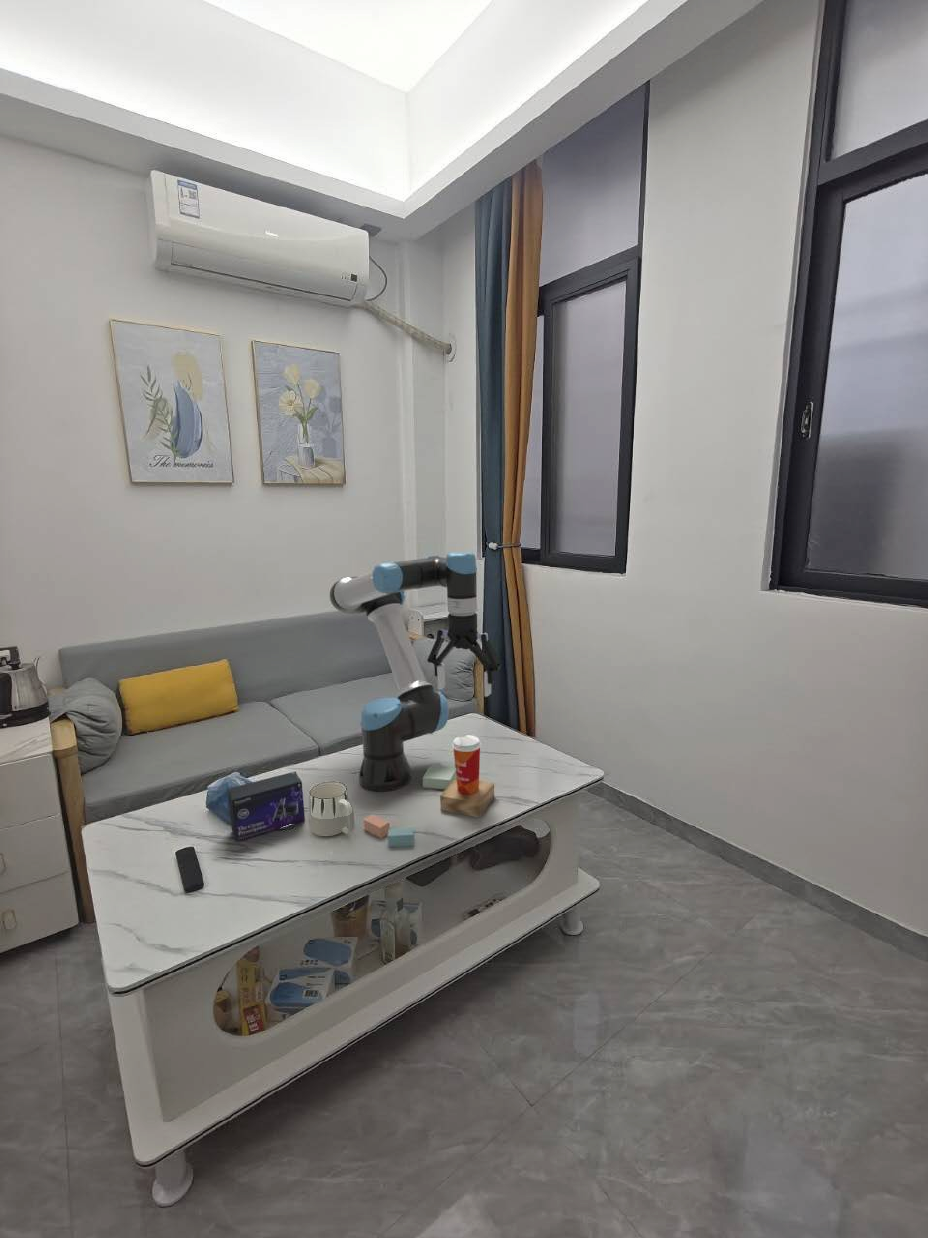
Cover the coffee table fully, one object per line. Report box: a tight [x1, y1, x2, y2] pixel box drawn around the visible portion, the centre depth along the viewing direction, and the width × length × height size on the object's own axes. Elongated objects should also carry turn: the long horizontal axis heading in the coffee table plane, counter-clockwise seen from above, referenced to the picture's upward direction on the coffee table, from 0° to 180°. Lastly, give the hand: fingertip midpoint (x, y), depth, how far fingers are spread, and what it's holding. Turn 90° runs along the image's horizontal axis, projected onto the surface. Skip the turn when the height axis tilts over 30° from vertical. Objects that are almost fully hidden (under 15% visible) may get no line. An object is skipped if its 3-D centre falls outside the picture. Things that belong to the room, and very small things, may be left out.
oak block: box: [439, 778, 495, 818], centre depth 154 cm, size 11×11×4 cm
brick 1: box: [363, 814, 391, 839], centre depth 143 cm, size 6×3×3 cm, turn 50°
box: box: [226, 771, 306, 843], centre depth 145 cm, size 17×7×12 cm, turn 121°
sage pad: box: [422, 764, 456, 790], centre depth 166 cm, size 8×8×3 cm
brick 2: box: [387, 827, 415, 848], centre depth 138 cm, size 6×3×3 cm, turn 92°
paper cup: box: [451, 734, 482, 795], centre depth 152 cm, size 8×8×14 cm
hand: (464, 691), depth 152 cm, fingers open, 13 cm apart
